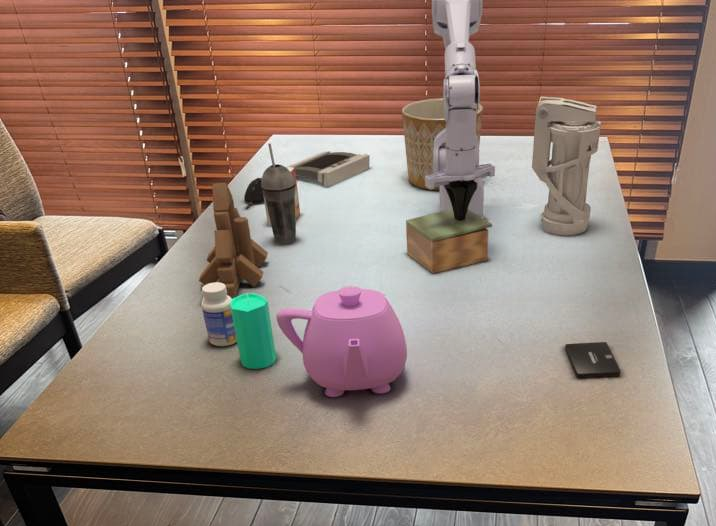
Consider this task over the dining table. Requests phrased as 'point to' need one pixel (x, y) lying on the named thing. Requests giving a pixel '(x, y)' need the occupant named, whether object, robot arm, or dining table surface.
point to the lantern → (565, 161)
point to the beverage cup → (280, 201)
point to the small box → (297, 208)
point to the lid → (447, 224)
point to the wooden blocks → (232, 246)
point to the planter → (426, 136)
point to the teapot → (349, 340)
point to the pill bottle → (218, 314)
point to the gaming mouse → (254, 193)
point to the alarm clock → (331, 166)
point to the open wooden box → (447, 249)
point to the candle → (253, 330)
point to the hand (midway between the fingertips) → (459, 219)
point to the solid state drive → (592, 359)
